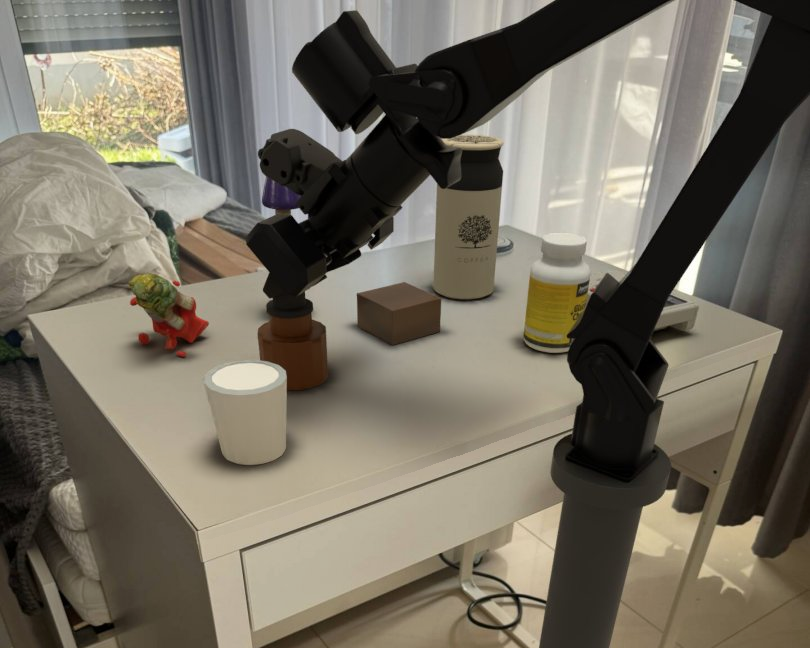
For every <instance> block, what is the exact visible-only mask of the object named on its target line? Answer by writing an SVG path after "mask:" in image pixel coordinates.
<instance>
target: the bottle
mask: <svg viewBox="0 0 810 648" xmlns="http://www.w3.org/2000/svg"><path fill="white" fill-rule="evenodd" d="M312 313H313V312H312ZM312 313H310V314H309V315H307V316H304V317H300V318H291V319H285V318H277V317H273V316H271V315H269V321H267V322H265V323H263V324H261V325H260V326H259V327H258V328H257V342H258V343H257V344H258V351H259V361H268V362H271V363H274V364H277V365H279V366H281V367H282V368H283V369H284V370H285V371H286V376H287V391H302V390H308V389H312V388H315V387H318V386H320V385H322V384H323V383H324V382H325V381H327V379H328V377H329V364H328V362H329V361H328V345H327V343H328V342H327V327H326V325H325V324H323V323H322V322H321V321H318V320H315V319H313V316H312V315H313V314H312Z"/></svg>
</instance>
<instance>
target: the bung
mask: <svg viewBox="0 0 810 648" xmlns="http://www.w3.org/2000/svg"><path fill="white" fill-rule="evenodd" d="M265 309H266V310H265V311H266V313H267V314H268V315H269V316H270V315H271V316H273V317H277V318H285V319H291V318H300V317H304V316H307V315H309V314H310V313H313V311H314V303H313V301H312V300H310V299H308V298H306V291H305V292H303V293H302V294H300V295H298V296H297V297H293V296H291V295H288V294H283V295H280V296H277V297H274V298H272V299H271V300H269V301H268V302H267V303H266V304H265Z"/></svg>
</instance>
